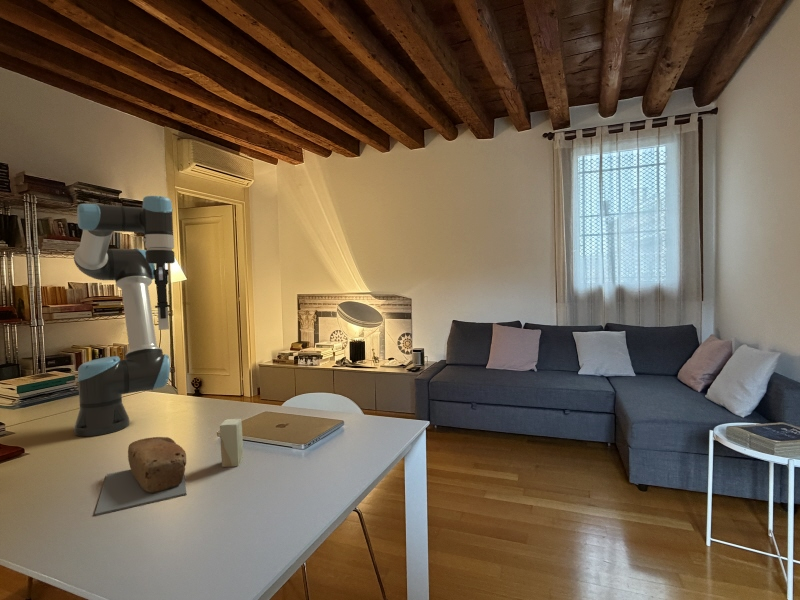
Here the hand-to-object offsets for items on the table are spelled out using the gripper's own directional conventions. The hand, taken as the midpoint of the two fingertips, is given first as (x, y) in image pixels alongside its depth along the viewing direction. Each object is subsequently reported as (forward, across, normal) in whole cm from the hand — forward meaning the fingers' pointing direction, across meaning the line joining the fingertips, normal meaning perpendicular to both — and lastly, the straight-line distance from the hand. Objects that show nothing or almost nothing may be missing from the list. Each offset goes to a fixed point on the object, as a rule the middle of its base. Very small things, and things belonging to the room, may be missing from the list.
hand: (163, 329), depth 131 cm
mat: (+34, +30, -5) cm, 45 cm away
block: (+30, +17, -4) cm, 35 cm away
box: (+34, +27, +15) cm, 46 cm away
